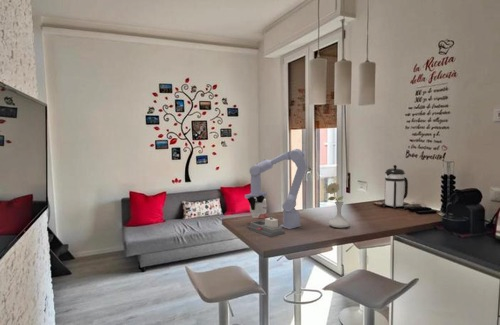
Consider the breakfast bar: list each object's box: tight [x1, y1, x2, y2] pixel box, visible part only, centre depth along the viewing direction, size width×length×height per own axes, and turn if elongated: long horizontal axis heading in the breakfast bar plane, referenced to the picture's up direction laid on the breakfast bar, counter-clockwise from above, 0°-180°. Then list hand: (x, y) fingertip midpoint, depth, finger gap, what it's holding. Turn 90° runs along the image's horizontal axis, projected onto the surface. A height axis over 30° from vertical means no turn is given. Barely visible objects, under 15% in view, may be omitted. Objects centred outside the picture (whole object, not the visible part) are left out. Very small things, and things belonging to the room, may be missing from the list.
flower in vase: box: [325, 182, 350, 229], centre depth 182 cm, size 13×11×25 cm
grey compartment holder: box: [247, 216, 286, 238], centre depth 175 cm, size 10×19×8 cm, turn 38°
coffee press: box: [382, 164, 409, 210], centre depth 229 cm, size 17×16×30 cm
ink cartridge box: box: [251, 196, 268, 220], centre depth 204 cm, size 9×5×15 cm, turn 68°
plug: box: [249, 201, 262, 214], centre depth 188 cm, size 4×6×7 cm, turn 37°
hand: (256, 209), depth 189 cm, fingers closed on plug, 4 cm apart
